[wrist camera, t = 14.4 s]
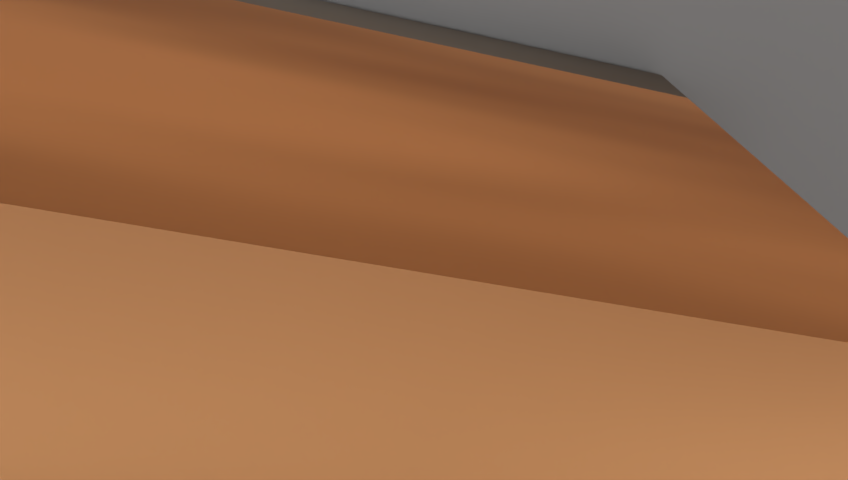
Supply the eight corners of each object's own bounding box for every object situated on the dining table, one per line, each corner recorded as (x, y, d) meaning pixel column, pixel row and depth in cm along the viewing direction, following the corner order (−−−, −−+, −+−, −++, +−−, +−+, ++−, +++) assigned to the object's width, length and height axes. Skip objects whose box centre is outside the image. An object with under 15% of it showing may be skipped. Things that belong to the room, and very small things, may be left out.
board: (617, 728, 20) (632, 790, 19) (-157, 671, 17) (-204, 741, 16) (1199, 17, 9) (1337, 47, 8) (-710, -504, 6) (-1029, -604, 5)
